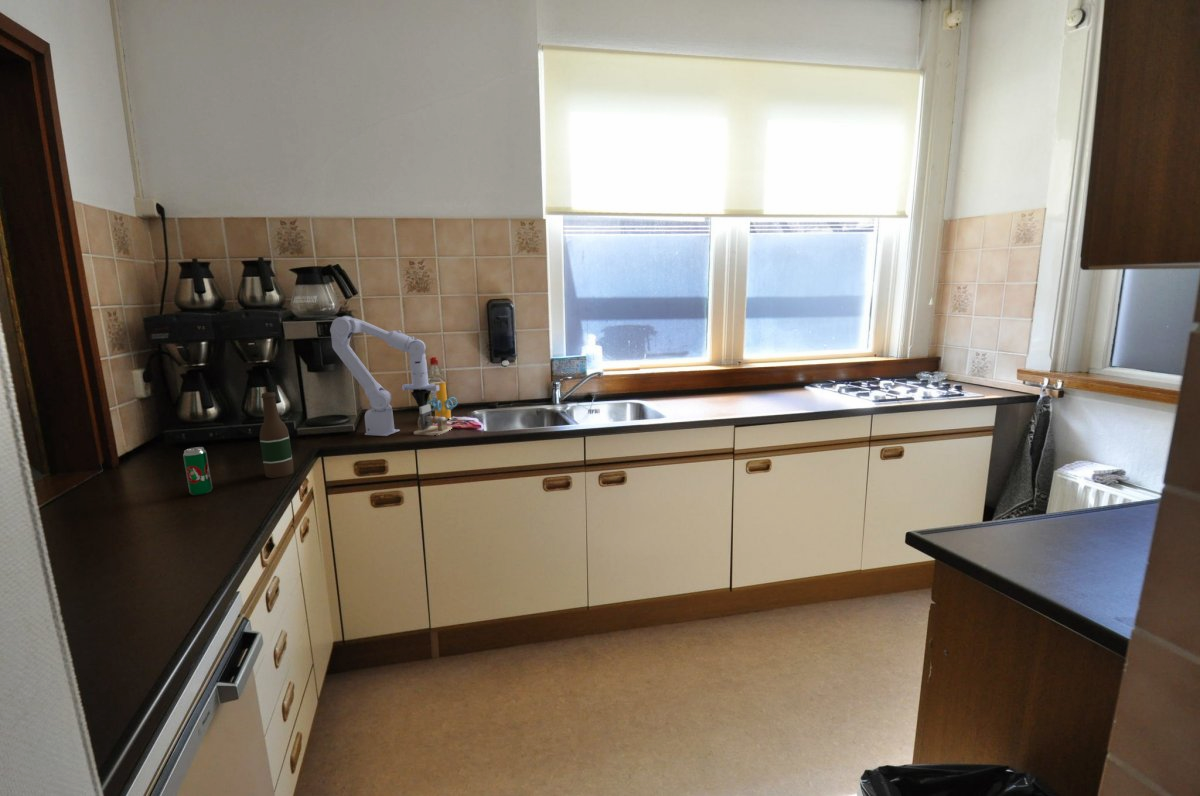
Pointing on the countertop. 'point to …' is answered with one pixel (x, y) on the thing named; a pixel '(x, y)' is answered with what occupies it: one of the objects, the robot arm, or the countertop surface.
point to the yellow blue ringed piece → (442, 402)
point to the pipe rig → (433, 430)
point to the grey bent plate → (423, 412)
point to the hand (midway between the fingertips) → (422, 409)
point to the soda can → (197, 471)
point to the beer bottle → (274, 441)
